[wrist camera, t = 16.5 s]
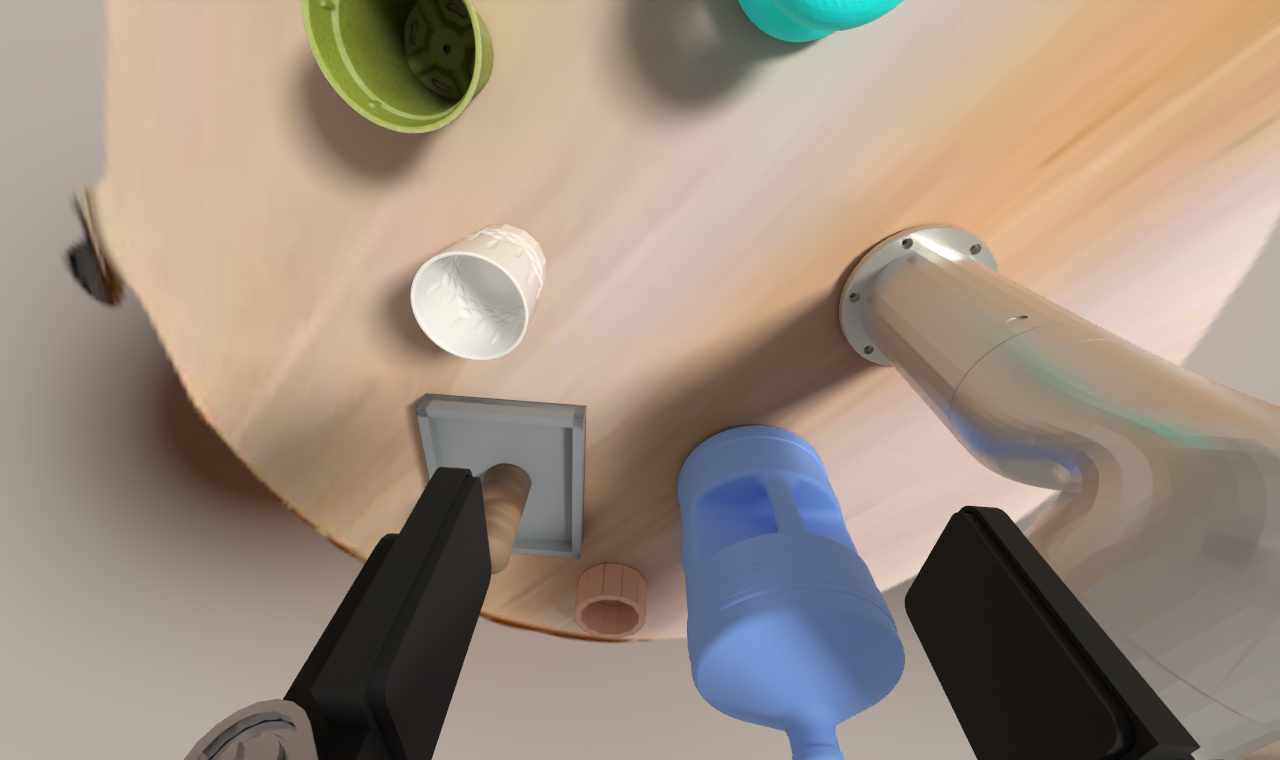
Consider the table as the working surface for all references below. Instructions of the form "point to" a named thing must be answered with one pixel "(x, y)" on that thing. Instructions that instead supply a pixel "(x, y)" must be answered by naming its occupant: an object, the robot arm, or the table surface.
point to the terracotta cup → (611, 601)
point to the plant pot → (400, 58)
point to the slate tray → (517, 459)
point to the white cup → (480, 292)
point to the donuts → (812, 16)
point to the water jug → (779, 591)
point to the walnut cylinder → (504, 509)
